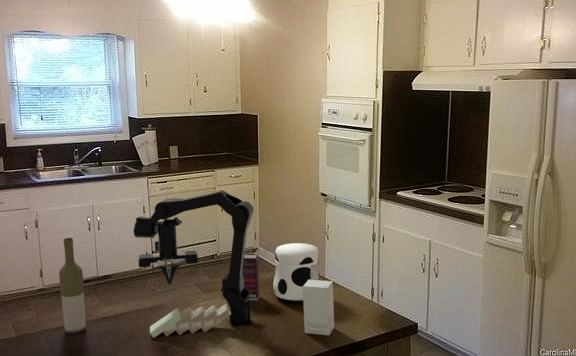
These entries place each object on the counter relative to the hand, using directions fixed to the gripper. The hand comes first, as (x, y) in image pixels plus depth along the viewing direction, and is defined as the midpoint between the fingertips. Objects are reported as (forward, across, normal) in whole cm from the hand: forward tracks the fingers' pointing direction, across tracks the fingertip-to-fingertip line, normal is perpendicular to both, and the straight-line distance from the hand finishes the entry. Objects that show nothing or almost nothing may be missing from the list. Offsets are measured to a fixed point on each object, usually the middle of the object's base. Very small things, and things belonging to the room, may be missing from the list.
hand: (169, 284), depth 184 cm
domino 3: (+11, -2, +11) cm, 16 cm away
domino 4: (+11, -6, +11) cm, 17 cm away
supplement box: (+12, -27, -12) cm, 32 cm away
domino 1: (+11, +6, +11) cm, 17 cm away
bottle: (+12, +30, +2) cm, 32 cm away
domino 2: (+11, +2, +11) cm, 16 cm away
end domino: (+11, -10, +11) cm, 18 cm away
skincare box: (+12, -45, +21) cm, 51 cm away
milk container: (+12, -45, -9) cm, 47 cm away
